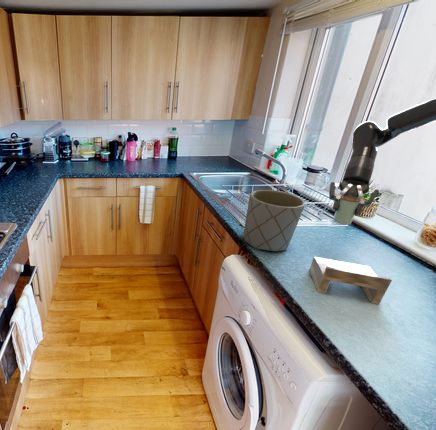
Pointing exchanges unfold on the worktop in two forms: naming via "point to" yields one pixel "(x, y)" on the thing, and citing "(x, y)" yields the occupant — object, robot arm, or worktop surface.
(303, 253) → the worktop surface
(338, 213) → the jar
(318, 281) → the wooden riser stand
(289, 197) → the planter
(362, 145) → the robot arm
